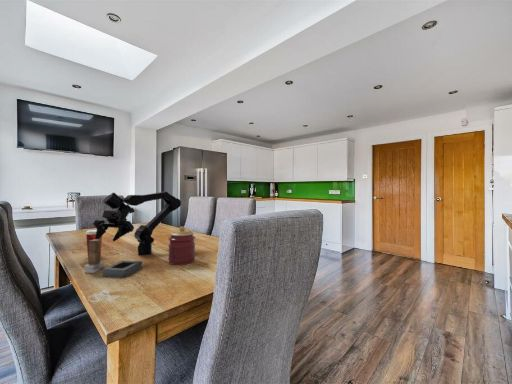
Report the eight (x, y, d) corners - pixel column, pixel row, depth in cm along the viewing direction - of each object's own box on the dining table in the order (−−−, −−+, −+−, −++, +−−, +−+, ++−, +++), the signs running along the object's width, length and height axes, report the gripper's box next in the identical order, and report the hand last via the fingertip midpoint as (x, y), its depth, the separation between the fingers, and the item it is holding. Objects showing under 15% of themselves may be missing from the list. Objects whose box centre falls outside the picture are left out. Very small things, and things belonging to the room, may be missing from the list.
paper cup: (96, 258, 123) (96, 231, 122) (81, 258, 123) (81, 231, 123) (106, 254, 130) (106, 229, 130) (92, 254, 131) (92, 229, 130)
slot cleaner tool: (95, 267, 109) (95, 238, 109) (103, 268, 108) (103, 238, 108) (84, 272, 103) (84, 241, 103) (93, 272, 103) (93, 241, 102)
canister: (187, 266, 113) (187, 229, 112) (162, 264, 115) (163, 227, 115) (199, 258, 125) (199, 225, 125) (177, 256, 128) (177, 224, 128)
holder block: (122, 266, 111) (122, 260, 110) (142, 268, 109) (142, 261, 109) (102, 276, 99) (102, 269, 99) (124, 277, 97) (124, 270, 97)
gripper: (96, 203, 118) (76, 229, 107) (130, 204, 115) (113, 231, 105) (107, 217, 126) (90, 243, 115) (140, 218, 123) (125, 244, 113)
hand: (104, 240), depth 112 cm, fingers open, 9 cm apart
